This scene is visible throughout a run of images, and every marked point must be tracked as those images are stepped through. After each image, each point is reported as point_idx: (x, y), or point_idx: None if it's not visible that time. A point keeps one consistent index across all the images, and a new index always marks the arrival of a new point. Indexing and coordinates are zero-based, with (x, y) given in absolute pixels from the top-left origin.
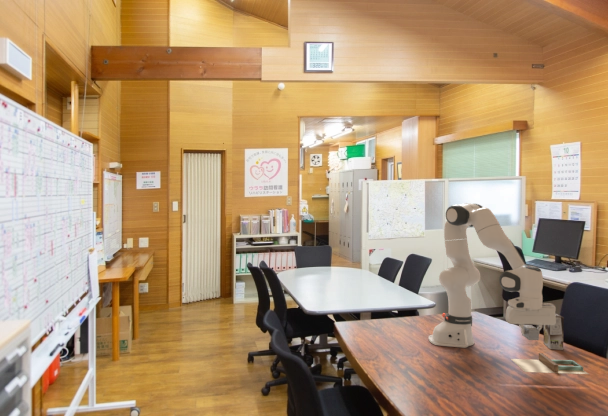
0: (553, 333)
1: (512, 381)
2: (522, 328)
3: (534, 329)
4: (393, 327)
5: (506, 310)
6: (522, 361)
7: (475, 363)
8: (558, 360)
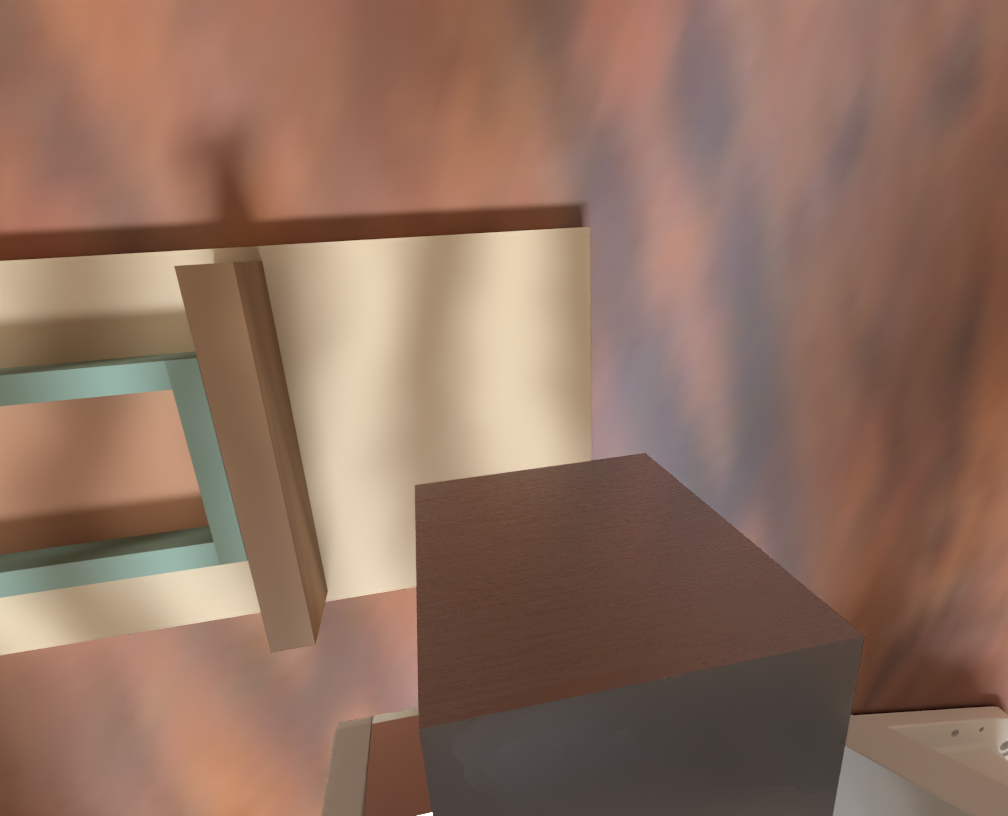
0: None
1: None
2: (937, 767)
3: (614, 731)
4: None
5: None
6: None
7: (900, 413)
8: (116, 559)
